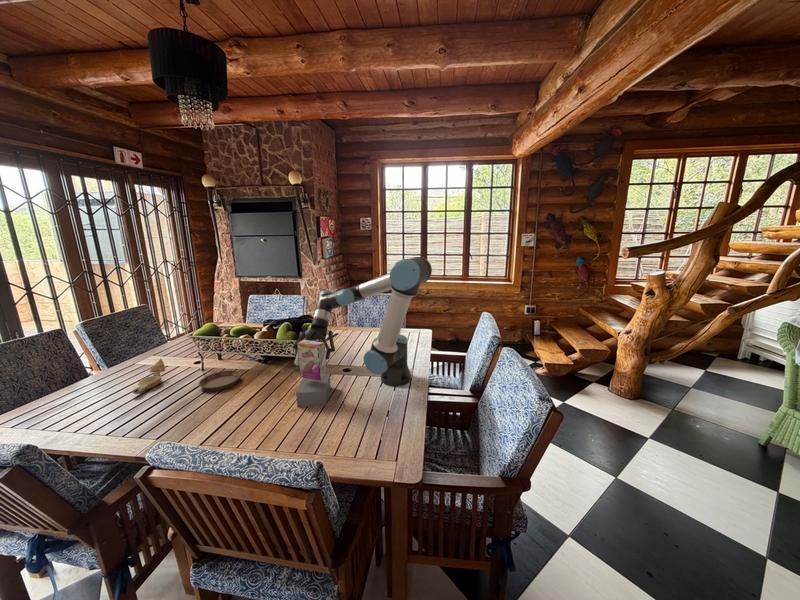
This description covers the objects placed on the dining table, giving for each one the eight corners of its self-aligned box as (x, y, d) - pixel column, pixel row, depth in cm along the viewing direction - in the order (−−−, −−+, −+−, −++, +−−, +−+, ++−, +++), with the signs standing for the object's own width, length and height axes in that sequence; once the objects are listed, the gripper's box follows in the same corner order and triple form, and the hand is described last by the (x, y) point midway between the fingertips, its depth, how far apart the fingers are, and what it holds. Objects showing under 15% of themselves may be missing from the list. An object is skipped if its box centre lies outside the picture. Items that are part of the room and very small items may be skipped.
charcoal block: (330, 387, 152) (329, 374, 150) (325, 406, 137) (324, 391, 135) (305, 388, 151) (304, 375, 149) (297, 407, 136) (296, 392, 134)
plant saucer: (191, 387, 153) (190, 382, 152) (226, 373, 168) (225, 367, 167) (214, 396, 145) (213, 390, 144) (248, 380, 160) (247, 374, 159)
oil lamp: (173, 376, 164) (169, 358, 162) (145, 397, 144) (140, 377, 141) (155, 377, 164) (151, 359, 161) (124, 398, 143) (119, 378, 141)
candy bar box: (299, 377, 141) (296, 342, 137) (306, 372, 146) (303, 339, 142) (320, 381, 138) (318, 346, 134) (327, 376, 142) (324, 342, 138)
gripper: (347, 325, 150) (338, 369, 139) (299, 323, 154) (287, 366, 142) (343, 318, 144) (334, 363, 133) (293, 316, 147) (280, 360, 136)
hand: (309, 365), depth 138 cm, fingers closed on candy bar box, 12 cm apart
